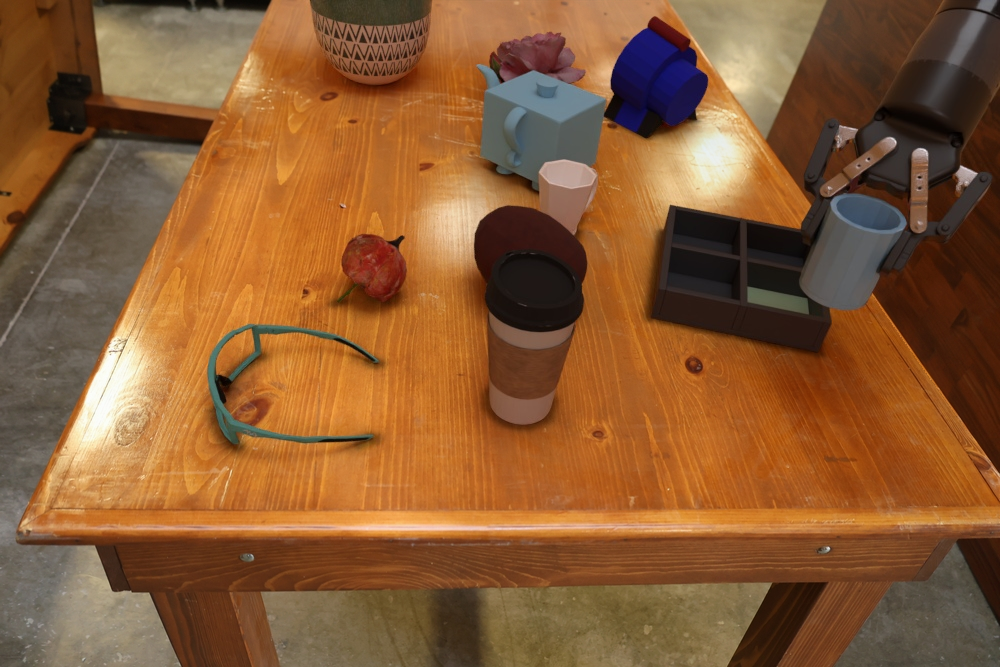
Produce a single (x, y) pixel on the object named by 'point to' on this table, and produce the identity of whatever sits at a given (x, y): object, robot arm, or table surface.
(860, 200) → the blue cup
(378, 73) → the planter
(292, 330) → the sunglasses
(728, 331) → the black divided tray
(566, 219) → the cup
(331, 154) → the table surface
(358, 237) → the pomegranate
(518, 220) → the dark brown oval ball
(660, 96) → the alarm clock
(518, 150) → the teapot
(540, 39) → the flower
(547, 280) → the coffee cup
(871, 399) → the table surface
